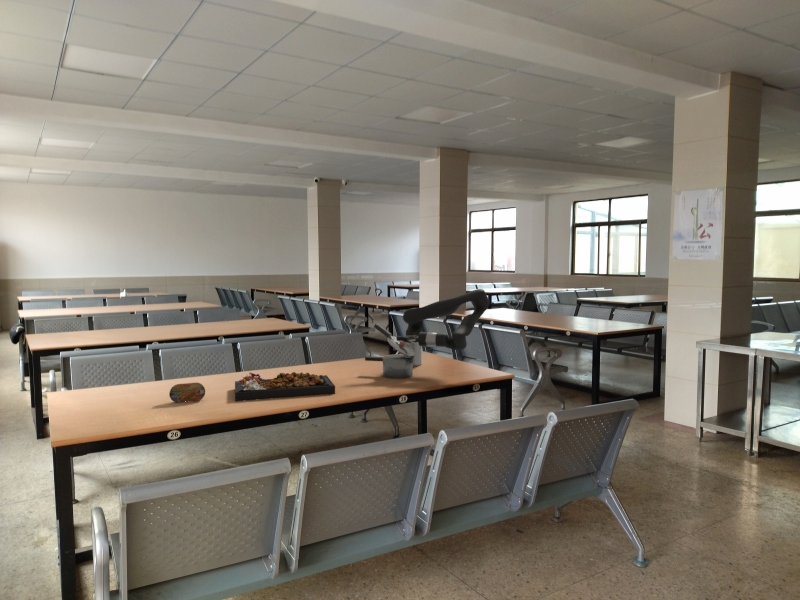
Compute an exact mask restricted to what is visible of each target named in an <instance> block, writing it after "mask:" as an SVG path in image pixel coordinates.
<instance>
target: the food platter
mask: <svg viewBox="0 0 800 600" xmlns="http://www.w3.org/2000/svg"><path fill="white" fill-rule="evenodd" d="M248 371H250V369H248ZM248 374H249V375H248ZM248 374H246V373H245V375H246V376H244V377H243V376H242V379H240V380H237V381H235V382H234V401H235V402H242V401H243V400H246V401H256V399H260V400H269V399H270V398H273V399H282V398H296V397H308V396H309V397H312V396H324V395H325V396H326V395H336V386H335V384H334V383H333V382H332V380H331V379H330V377H328V375H327V374H326V375H325V374H324V375H323V374H320V375H318V374H315V373H312V374H310V372H306V373H303V372H300V373H297V372H296V371H295V372H294V371H293V372H291V373H289V372H287V373H285V372H280V373H278V374H277V376H276V377H274V378H266V379H265V378H262V377H261V375H260V374H259V373H258V374H256V373H253V372H248ZM258 387H259V388H258ZM270 400H271V399H270Z"/></svg>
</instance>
